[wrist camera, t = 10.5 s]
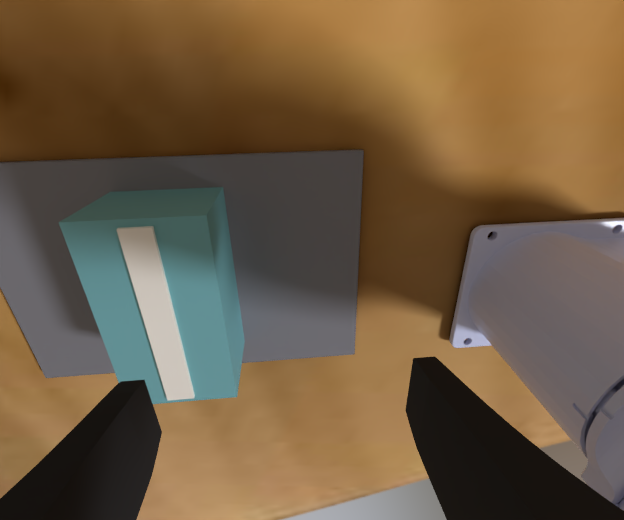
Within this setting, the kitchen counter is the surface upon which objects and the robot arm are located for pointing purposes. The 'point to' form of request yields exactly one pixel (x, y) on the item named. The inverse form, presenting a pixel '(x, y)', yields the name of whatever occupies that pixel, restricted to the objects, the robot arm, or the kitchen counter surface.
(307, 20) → the kitchen counter surface
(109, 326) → the card box
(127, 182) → the mat
